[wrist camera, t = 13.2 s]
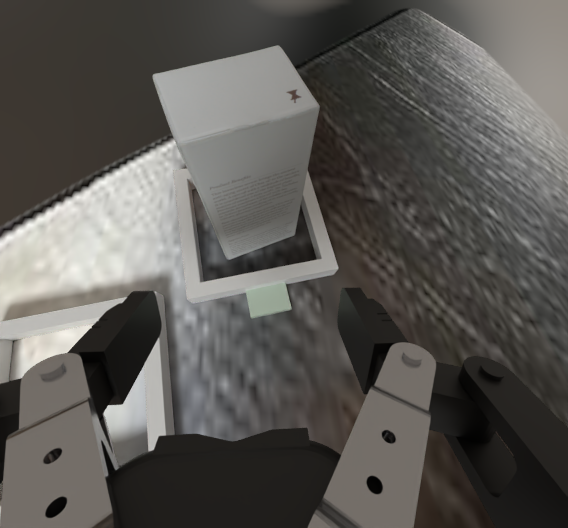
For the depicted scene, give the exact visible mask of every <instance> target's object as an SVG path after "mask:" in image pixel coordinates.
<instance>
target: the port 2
mask: <svg viewBox="0 0 568 528" xmlns="http://www.w3.org/2000/svg"><path fill="white" fill-rule="evenodd" d="M173 174H174V183H175V192H176V201H177V211H178V220H179V229H180V238H181V248H182V257H183V266H184V275H185V285H186V294H187V300H189V301H190V302H191V303H198V302H203V301H208V300H213V299H218V298H223V297H227V296H232V295H237V294H242V293H246V294H247V299H248V305H249V310H250V316H251V318H256V317H261V316H265V315H270V314H274V313H279V312H283V311H288V310H291V304H290V300H289V296H288V292H287V287H286V284H291V283H295V282H300V281H305V280H310V279H315V278H320V277H325V276H330V275H334V274H335V272H336V271H337V270H338V269H339V268H338V265H337V262H336V259H335V256H334V252H333V249H332V246H331V243H330V240H329V236H328V233H327V230H326V227H325V224H324V220H323V217H322V214H321V211H320V208H319V205H318V201H317V198H316V195H315V192H314V189H313V185H312V182H311V179H310V176H309V173H308V169H307V174H306V180H305V185H304V190H303V195H302V201H301V207H302V210H303V214H304V217H305V221H306V224H307V228H308V231H309V235H310V238H311V242H312V245H313V248H314V252H315V255H316V259H317V260H313V261H308V262H302V263H297V264H292V265H287V266H282V267H277V268H272V269H267V270H262V271H257V272H251V273H246V274H241V275H236V276H231V277H226V278H221V279H216V280H211V281H206V282H204V278H203V270H202V263H201V255H200V248H199V240H198V233H197V225H196V218H195V210H194V203H193V195H192V190H193V189H196V187H195V185H194V182H193V180H192V178H191V176H190V173H189V171H188V169H187V168H186V169H179V170H173Z"/></svg>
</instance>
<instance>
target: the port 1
mask: <svg viewBox="0 0 568 528" xmlns="http://www.w3.org/2000/svg"><path fill="white" fill-rule="evenodd" d="M154 293H155V295H156V298H157V303H158V308H159V312H160V317H161V322H162V328H161V333H160V336H159V338H158V340H157V342H156V344H155V345H154V347H153V349H152V351H151V353H150V355H149V356H148V358H147V360H146V362H145V364H144V371H145V391H146V411H147V432H148V452H149V451H152V450H154V448H155V445H156V442H157V440H158V437H159V436H164V435H175V430H174V418H173V405H172V392H171V380H170V367H169V354H168V342H167V329H166V316H165V304H164V296H163V295H161V294H160V293H158V292H156V291H155V292H154ZM126 298H127V297H124V298H119V299H114V300H109V301H104V302H98V303H93V304H88V305H83V306H78V307H73V308H68V309H63V310H58V311H53V312H47V313H42V314H37V315H32V316H27V317H22V318H17V319H12V320H7V321H2V322H0V384H1V383H5V382H9V373H10V364H11V354H12V345H13V341H14V340H18V339H23V338H28V337H33V336H38V335H43V334H48V333H52V332H57V331H62V330H67V329H72V328H77V327H82V326H86V325H91V324H95V323H96V322H97V321H99V319H100V317H101V316H102V315H103V314H104V313H105V312H106V311H107V310H109V309H110V308H112V307H114V306H115V305H117V304H119V303H123V302H124V300H125V299H126ZM120 467H121V466H120ZM1 502H2V499H1V500H0V514H1Z"/></svg>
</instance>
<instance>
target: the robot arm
mask: <svg viewBox="0 0 568 528" xmlns="http://www.w3.org/2000/svg"><path fill="white" fill-rule="evenodd" d="M161 328H162V322H161V317H160V312H159V308H158V303H157V298H156V295H155V293H154V291H133V292H132V293H131V294H130V295H129V296H128V297H127V298H126V299H125V300H124V302H123V303H119V304H117V305H115V306H114V307H112V308H110V309H109V310H107V311H106V312H105V313H104V314H103V315H102V316H101V317H100V319H99V321H97V322H96V323H95V324H94V325H93V326H92V329H89V330H88V331H87V332H86V334H85V335H84V336H83V337H82V338H81V339H80V340H79V341H78V342H77V343H76V344H75V345H74V346H73V347H72V348H71V350H70V351H69V352H68V353H65V354H59V355H56V356H53V357H50V358H47V359H45V360H43V361H41V362H40V363H38V364H36V365H35V366H33V367H32V368H31V369H30V370H28V371H27V372H26V373H25V375H24V376H23V378H21V379H17V380H13V381H9V382H5V383H1V384H0V484H1V482H2V481H3V489H2V502H1V514H0V528H413V527H414V520H415V514H416V508H417V501H418V495H419V489H420V483H421V476H422V470H423V464H424V457H425V451H426V445H427V438H428V432H429V430H433V431H437V432H441V433H444V435H445V437H446V439H447V440H448V442H449V444H450V446H451V448H452V449H453V451H454V453H455V455H456V457H457V458H458V460H459V462H460V464H461V466H462V467H463V469H464V471H465V473H466V475H467V476H468V478H469V480H470V482H471V484H472V486H473V487H474V489H475V491H476V493H477V495H478V496H479V498H480V500H481V502H482V504H483V505H484V507H485V509H486V511H487V513H488V514H489V516H490V518H491V520H492V522H493V523H494V525H495V527H496V528H568V428H567V427H566V426H565V425H564V424H563V423H562V422H561V421H560V420H559V419H558V418H557V417H556V416H555V415H554V414H553V413H552V412H551V411H550V410H549V409H548V408H547V407H546V406H545V405H544V404H543V403H542V402H541V401H540V400H539V399H538V398H537V397H536V396H535V395H534V394H533V393H532V392H531V391H530V390H529V389H528V388H527V387H526V386H525V385H524V384H523V383H522V382H521V381H520V380H519V379H518V378H517V377H516V376H515V375H514V374H513V373H512V372H511V371H510V370H509V369H507V368H506V367H505V366H503V365H501V364H499V363H498V362H495V361H493V360H490V359H488V358H484V357H477V356H474V357H469V358H467V359H466V360H465V361H464V363H463V366H462V367H458V366H453V365H448V364H443V363H439V362H435V360H434V358H433V356H432V355H431V354H430V353H429V352H427V351H426V350H425V349H423V348H421V347H419V346H417V345H414V344H411V343H409V342H408V341H407V340H406V338H405V337H404V335H403V334H402V333H401V331H400V330H399V328H398V327H397V326H396V324H395V323H394V321H392V319H391V317H390V316H389V315H388V314H387V312H386V310H385V309H384V308H383V306H382V305H381V304H379V303H378V302H376V301H375V300H374V299H367V297H366V296H365V294H364V293H363V291H362V290H361V288H342V290H341V295H340V303H339V311H338V329H339V332H340V335H341V337H342V340H343V343H344V345H345V348H346V350H347V353H348V355H349V358H350V360H351V363H352V365H353V368H354V371H355V373H356V376H357V378H358V381H359V383H360V386H361V388H362V391H363V393H364V394H367V397H366V399H365V401H364V404H363V406H362V408H361V411H360V413H359V415H358V418H357V420H356V422H355V425H354V427H353V429H352V432H351V434H350V436H349V439H348V441H347V443H346V446H345V448H344V450H343V453H342V455H340V454H339V453H337V452H336V451H334V450H333V449H331V448H329V447H327V446H325V445H323V444H320V443H317V442H314V441H310V440H309V436H308V429H307V428H295V429H276V430H269V431H266V432H263V433H260V434H257V435H254V436H251V437H248V438H245V439H241V440H238V441H233V442H232V441H226V440H222V439H217V438H213V437H209V436H204V435H200V434H183V435H164V436H159V437H158V440H157V442H156V445H155V448H154V450H152V451H149V452H146V453H144V454H142V455H140V456H138V457H136V458H134V459H132V460H130V461H129V462H127V463H126V464H124V465H123V466H121V467H119V466H118V463H117V459H116V456H115V452H114V448H113V445H112V441H111V437H110V433H109V430H108V426H107V422H106V419H105V416H104V411H105V409H106V408H107V406H108V405H121V404H123V403H124V401H125V399H126V397H127V395H128V393H129V392H130V390H131V388H132V386H133V384H134V382H135V380H136V379H137V377H138V375H139V373H140V371H141V369H142V368H143V366H144V364H145V362H146V360H147V358H148V356H149V355H150V353H151V351H152V349H153V347H154V345H155V344H156V342H157V340H158V338H159V336H160V333H161ZM496 431H497V432H498V434H499V435H500V436H501V438H502V439H503V440H504V442H505V443H506V444H507V446H508V447H509V449H510V450H511V452H512V453H513V455H514V457H513V456H512V455H511V453H510V452H509V451H508V449H507V448H506V447H505V445H504V444H503V443H502V441H501V440H500V438H499V437H498V436H497V434H496V433H495V432H496ZM514 458H515V459H514Z"/></svg>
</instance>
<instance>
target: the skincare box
mask: <svg viewBox="0 0 568 528" xmlns="http://www.w3.org/2000/svg"><path fill="white" fill-rule="evenodd" d="M153 80H154V83H155V86H156V90H157V92H158V95H159V98H160V101H161V104H162V107H163V110H164V112H165V115H166V118H167V121H168V124H169V126H170V129H171V132H172V134H173V137H174V140H175V142H176V145H177V147H178V149H179V152H180V154H181V156H182V158H183V160H184V162H185V165H186V167H187V169H188V171H189V173H190V176H191V178H192V180H193V182H194V185H195V187H196V189H197V191H198V194H199V196H200V198H201V201H202V203H203V205H204V208H205V210H206V212H207V215H208V217H209V219H210V221H211V224H212V226H213V229H214V231H215V233H216V236H217V238H218V240H219V243H220V245H221V247H222V249H223V252H224V254H225V256H226V258H227V259H228V260H230V259H233V258H235V257H238V256H241V255H243V254H246V253H249V252H251V251H254V250H257V249H259V248H262V247H265V246H267V245H270V244H272V243H275V242H278V241H281V240H283V239H286V238H289V237H291V236H294V235H295V231H296V226H297V221H298V216H299V211H300V206H301V201H302V195H303V190H304V185H305V180H306V174H307V169H308V164H309V159H310V154H311V149H312V143H313V138H314V133H315V128H316V123H317V118H318V113H319V108H320V106H319V104H318V103H317V101H316V100H315V98H314V97H313V95H312V94H311V92H310V91H309V89H308V88H307V86H306V85H305V83H304V82H303V80H302V79H301V77H300V76H299V74H298V72H297V71H296V69H295V68H294V66H293V65H292V63H291V61H290V60H289V58H288V57H287V55H286V54H285V53H284V51H283V50H282V48H281V47H280V46H273V47H269V48H266V49H262V50H258V51H254V52H251V53H246V54H242V55H237V56H234V57H229V58H224V59H219V60H215V61H210V62H206V63H202V64H198V65H193V66H189V67H184V68H180V69H176V70H171V71H167V72H163V73H157V74H154V75H153Z"/></svg>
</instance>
